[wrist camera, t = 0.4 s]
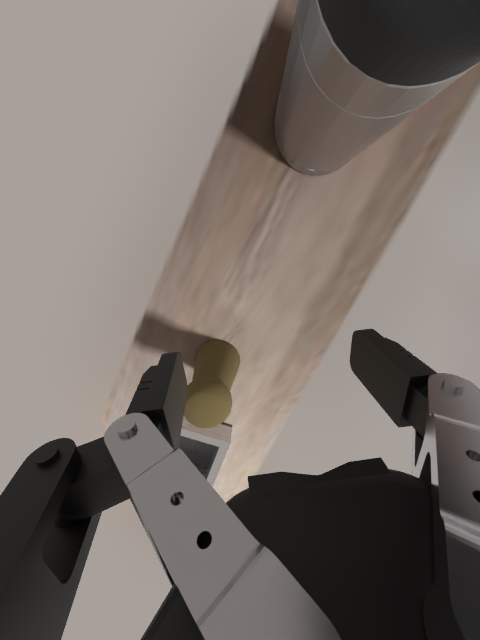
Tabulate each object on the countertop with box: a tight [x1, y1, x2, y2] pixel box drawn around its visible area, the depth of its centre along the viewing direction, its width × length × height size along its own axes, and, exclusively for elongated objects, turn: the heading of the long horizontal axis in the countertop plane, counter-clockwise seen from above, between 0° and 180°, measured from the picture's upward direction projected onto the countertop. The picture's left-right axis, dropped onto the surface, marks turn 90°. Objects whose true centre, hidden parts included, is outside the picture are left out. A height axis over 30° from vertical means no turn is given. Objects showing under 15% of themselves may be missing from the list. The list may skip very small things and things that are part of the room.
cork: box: [184, 340, 240, 429], centre depth 30 cm, size 6×6×11 cm
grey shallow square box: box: [178, 416, 232, 486], centre depth 38 cm, size 10×10×3 cm
